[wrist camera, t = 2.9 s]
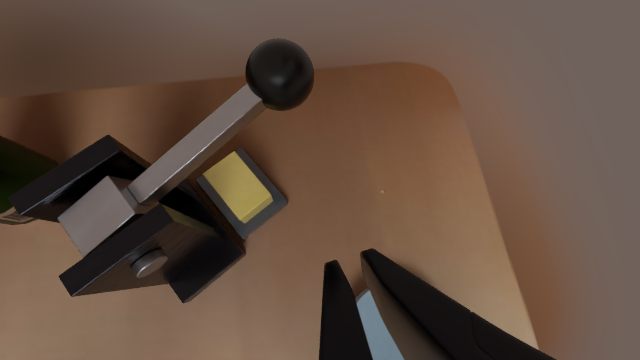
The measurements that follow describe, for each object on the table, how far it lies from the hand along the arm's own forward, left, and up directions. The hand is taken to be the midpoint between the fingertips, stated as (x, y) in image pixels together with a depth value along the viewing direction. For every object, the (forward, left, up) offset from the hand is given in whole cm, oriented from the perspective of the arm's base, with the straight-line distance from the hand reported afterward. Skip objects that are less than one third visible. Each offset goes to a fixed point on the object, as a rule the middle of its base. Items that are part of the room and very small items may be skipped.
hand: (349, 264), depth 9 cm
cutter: (+10, +4, -14) cm, 17 cm away
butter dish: (+8, -1, -14) cm, 16 cm away
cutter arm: (+8, -1, -5) cm, 10 cm away
